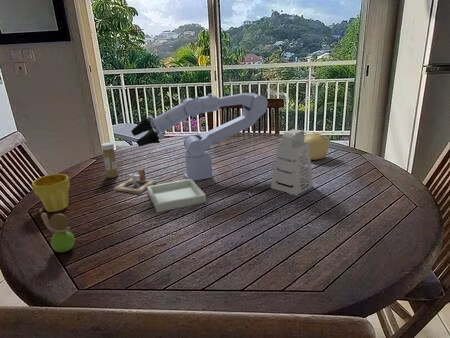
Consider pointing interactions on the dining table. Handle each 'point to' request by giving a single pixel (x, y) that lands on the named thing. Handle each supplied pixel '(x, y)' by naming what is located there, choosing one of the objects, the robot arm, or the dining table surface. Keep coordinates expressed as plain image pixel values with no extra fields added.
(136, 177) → the T-head stake
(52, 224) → the snail figurine
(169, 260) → the dining table surface
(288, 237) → the dining table surface
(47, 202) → the plant pot
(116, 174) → the sprinkles bottle
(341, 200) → the dining table surface
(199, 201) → the sage tray
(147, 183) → the birch frame
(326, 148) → the yellow round pot
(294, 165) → the grater
